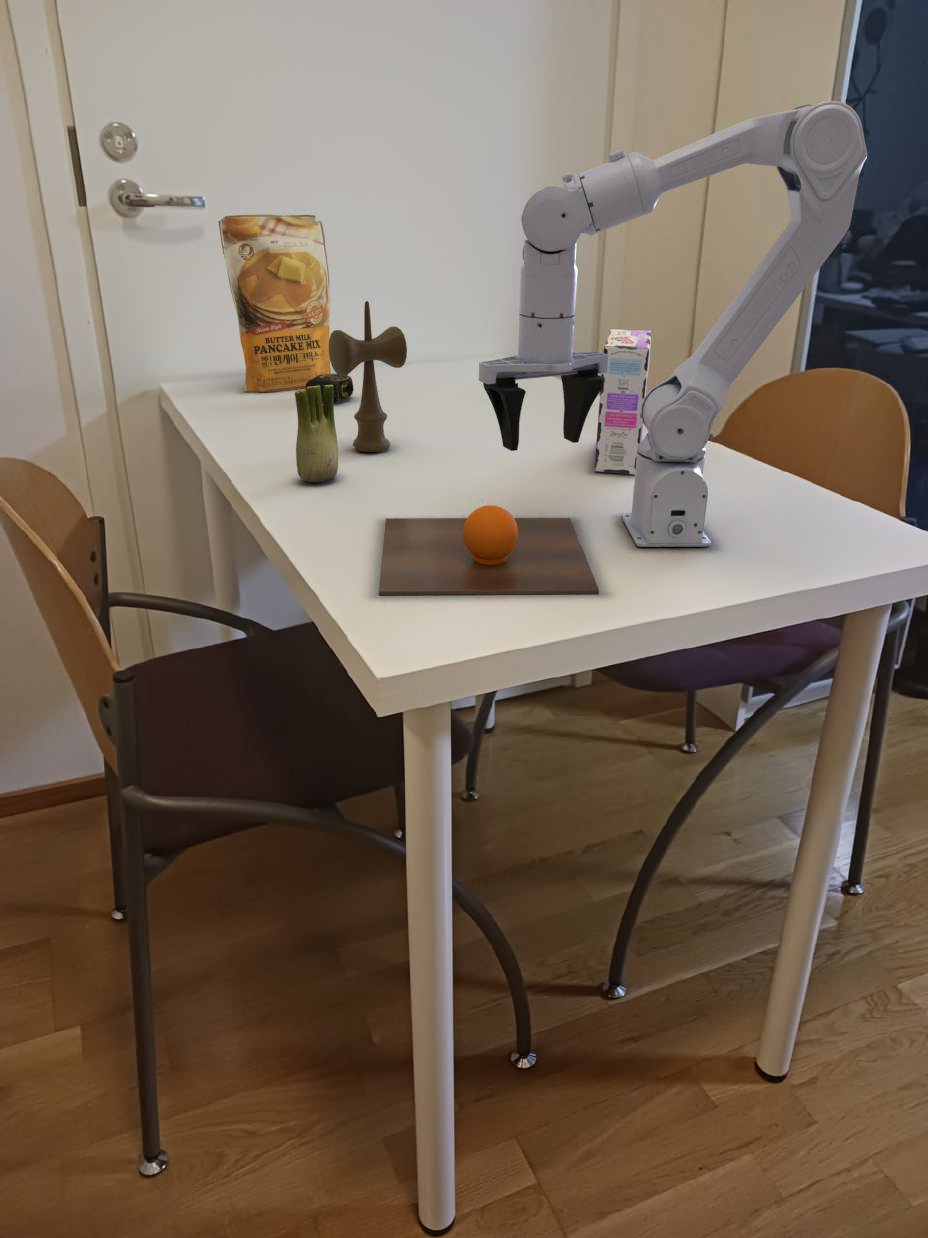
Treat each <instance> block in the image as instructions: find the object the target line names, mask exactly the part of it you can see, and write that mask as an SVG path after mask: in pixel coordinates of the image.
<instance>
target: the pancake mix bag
mask: <svg viewBox="0 0 928 1238" xmlns="http://www.w3.org/2000/svg"><path fill="white" fill-rule="evenodd" d="M217 223H218V229H219V237H220V241H221V242H220V243H221V248H222V249H221V250H222V255H223V258H224V260H225V266H226V272H227V278H228V283H229V284H228V285H229V288H230V293H231V298H232V301H233V304H234V308H235V311H236V315H237V322H238V330H239V338H240V339H239V340H240V345H241V348H242V353H243V357H244V365H245V377H244V378H245V379H244V386H243V387H244V388H243V392H251V393H252V392H254V393H271V392H284V391H293V390H302V389H306V383H307V382H308V381H309V380H311V379H313V378H315V377H317V376H319V375H323V374H332V371H331V361H330V357H329V339H330V335H331V293H330V292H331V291H330V283H331V282H330V281H331V280H330V272H329V264H328V256H327V250H326V238H325V237H326V236H325V231H324V226H323V221H322V220H316V215H315V214H314V215H313V214H291V215H290V214H289V215H288V214H287V215H281V214H279V215H278V214H237V215H235V214H234V215H225V216H223V217H222V218H221V219H219V220H218V222H217Z"/></svg>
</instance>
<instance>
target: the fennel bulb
mask: <svg viewBox="0 0 928 1238" xmlns="http://www.w3.org/2000/svg"><path fill="white" fill-rule="evenodd" d="M333 394H334V387H333V385H325V386H323V399H322V395H321V388H320V385H319V386H311V387H307V388H301V389H297V390H295V392H294V397H295V404H296V411H297V412H296V414H297V434H296V442H295V444H296V445H295V459H296V461H295V462H296V471H297V475H298V477H299V478H300V479H302V480H303V481H305V482H306V483H311V484H313V483H321V482H326V481H331V480H333V479H335V478H336V476H337V474H338V471H339V470H338V469H339V447H338V436H337V429H336V423H335V421H336V420H335V404H334V402H335V401H334V395H333Z"/></svg>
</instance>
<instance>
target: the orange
mask: <svg viewBox="0 0 928 1238" xmlns="http://www.w3.org/2000/svg"><path fill="white" fill-rule="evenodd" d="M466 518H467V519H466V521H465V524H464V527H463V539H464V542H465V545H466V547H467V548H468V550H469V551H470V552H471V553H472V554H473V559H474V560H475V561H476V562H478V563H481V564H486V565H495V564H500V563H503V562H505V561H506V557H507V555H508V554H509V553H510V552H511V551H512V550H513V548H514V547H515V545H516V542H517V539H518V527H517V523H516V521H515V519H514V518H515V517H514V515H512V513H510V512H509V511H508V510H507V509H506V508H504V507H502V506H499V505H495V504H488V505H487V504H486V505H482V506H480V507H478V508H476V509H474V510H473V511H472V512H471V513H470V514H469V515H468V516H467V517H466Z"/></svg>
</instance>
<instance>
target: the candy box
mask: <svg viewBox="0 0 928 1238" xmlns="http://www.w3.org/2000/svg"><path fill="white" fill-rule="evenodd" d="M651 343H652V331H651V330H641V329H639V330H638V329H620V328H619V329H615V328H611V329H609V333H608V335H607V338H606V341H605V344H604V346H603V352H602V353H605V354H608V367H607V373H601V375H600V376H602V377H604V386H603V388H602V390H601V391H600V392H599V405H598V416H597V428H596V429H597V431H596V442H595V457H594V472H601V473H611V474H624V475H634V476H635V471H636V460H637V451H638V445H639V443H640V442H641V441H642V440H643V430H644V429H643V428H644V423H643V421H642V417H641V406H642V402H643V400H644V398H645V396H646V395H647V388H648V381H649V370H650V362H651V361H650V360H651V346H652V344H651Z"/></svg>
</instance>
